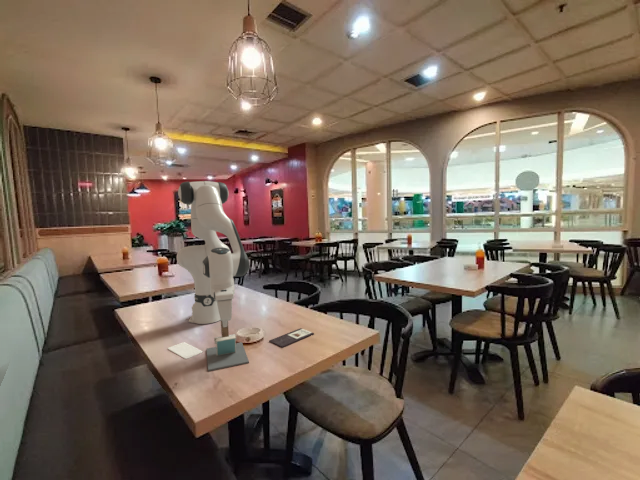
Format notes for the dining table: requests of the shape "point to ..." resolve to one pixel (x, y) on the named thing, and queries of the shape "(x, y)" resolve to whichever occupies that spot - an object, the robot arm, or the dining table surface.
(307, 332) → the chocolate bar
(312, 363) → the dining table surface
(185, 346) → the white flat slab
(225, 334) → the stamp
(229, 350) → the tile
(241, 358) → the mat
